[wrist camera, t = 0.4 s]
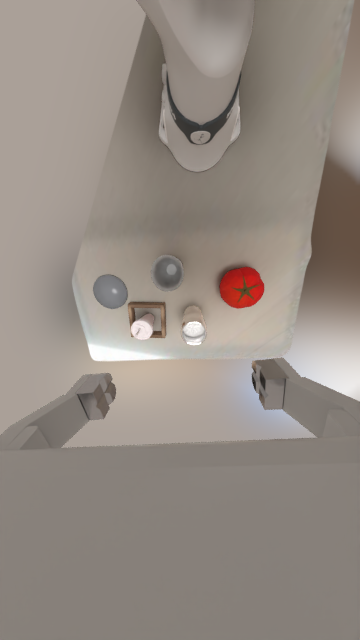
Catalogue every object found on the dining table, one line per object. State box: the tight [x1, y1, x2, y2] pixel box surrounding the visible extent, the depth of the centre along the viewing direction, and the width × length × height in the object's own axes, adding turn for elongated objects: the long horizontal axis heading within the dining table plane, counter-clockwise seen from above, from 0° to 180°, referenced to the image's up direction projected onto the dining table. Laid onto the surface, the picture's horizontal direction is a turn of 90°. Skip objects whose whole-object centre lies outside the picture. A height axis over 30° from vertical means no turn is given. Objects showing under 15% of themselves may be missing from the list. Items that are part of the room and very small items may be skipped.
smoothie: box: [131, 313, 154, 340], centre depth 51 cm, size 6×6×14 cm
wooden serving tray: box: [128, 302, 166, 338], centre depth 57 cm, size 12×12×3 cm
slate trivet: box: [93, 275, 128, 309], centre depth 55 cm, size 11×11×1 cm
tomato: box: [220, 267, 264, 308], centre depth 47 cm, size 12×12×11 cm
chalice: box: [151, 255, 184, 291], centre depth 43 cm, size 7×7×18 cm
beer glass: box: [181, 305, 207, 345], centre depth 49 cm, size 7×7×15 cm
